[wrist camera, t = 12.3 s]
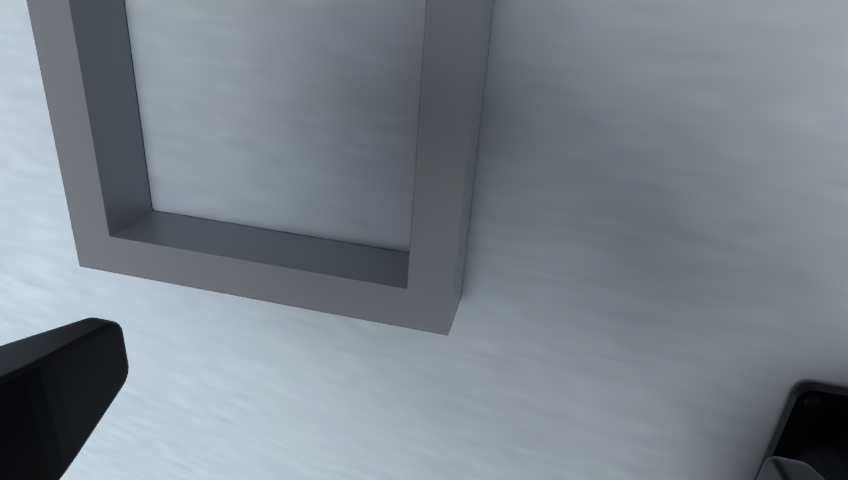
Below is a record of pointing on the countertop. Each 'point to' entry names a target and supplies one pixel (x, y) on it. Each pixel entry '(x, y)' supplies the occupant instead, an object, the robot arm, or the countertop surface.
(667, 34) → the countertop surface
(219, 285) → the cup holder
